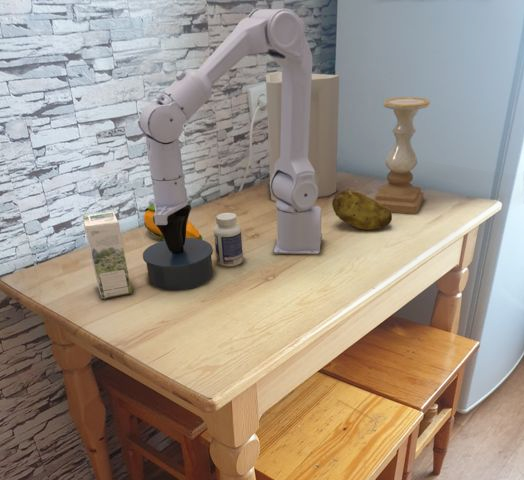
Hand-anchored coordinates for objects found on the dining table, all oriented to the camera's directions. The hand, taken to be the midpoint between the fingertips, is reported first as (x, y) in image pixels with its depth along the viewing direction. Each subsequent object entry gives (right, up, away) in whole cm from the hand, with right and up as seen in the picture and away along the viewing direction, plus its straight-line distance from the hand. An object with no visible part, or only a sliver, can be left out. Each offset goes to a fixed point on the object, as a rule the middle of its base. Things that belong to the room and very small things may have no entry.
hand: (177, 247), depth 108 cm
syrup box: (-12, -9, -1) cm, 14 cm away
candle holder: (+50, +16, +32) cm, 61 cm away
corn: (-3, +5, +19) cm, 20 cm away
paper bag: (+24, +22, +43) cm, 54 cm away
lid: (0, -1, +1) cm, 1 cm away
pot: (0, -5, +3) cm, 6 cm away
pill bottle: (+10, -2, +8) cm, 13 cm away
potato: (+39, +8, +21) cm, 45 cm away
